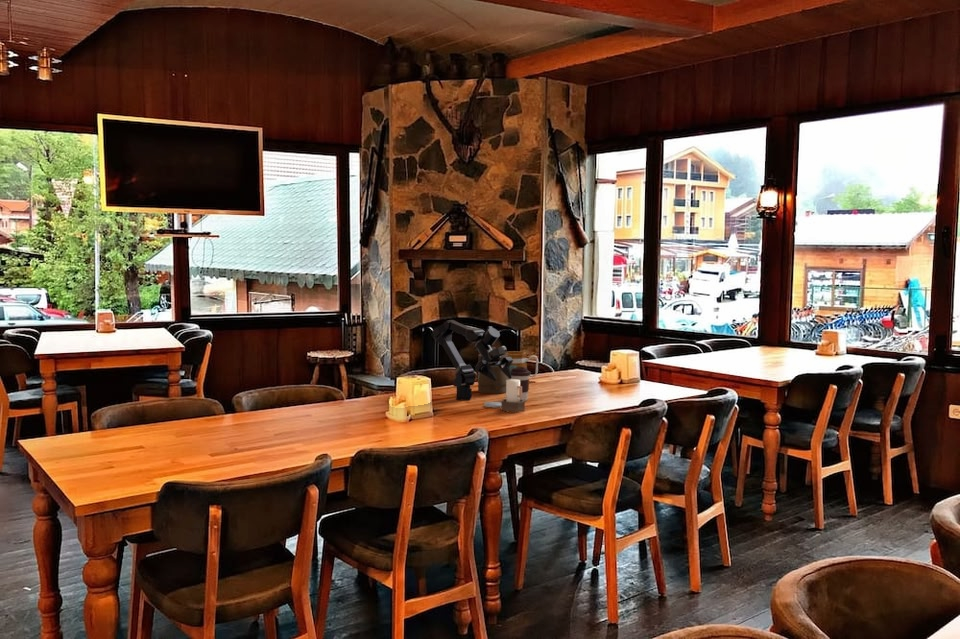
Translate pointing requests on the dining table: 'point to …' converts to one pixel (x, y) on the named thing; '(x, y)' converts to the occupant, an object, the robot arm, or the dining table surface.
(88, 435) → the dining table surface
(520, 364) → the mug
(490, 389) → the wooden container
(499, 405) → the plate
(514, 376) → the coffee cup
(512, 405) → the holder
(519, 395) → the jug
